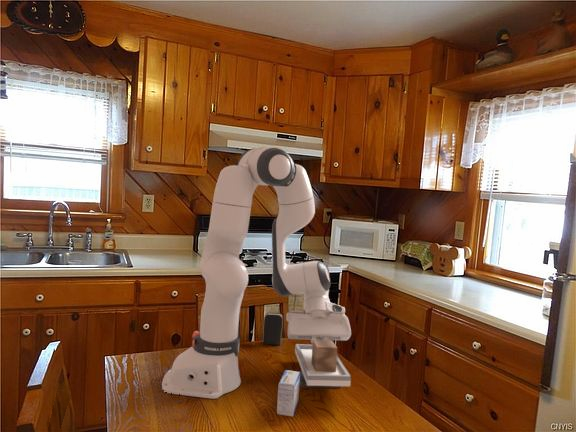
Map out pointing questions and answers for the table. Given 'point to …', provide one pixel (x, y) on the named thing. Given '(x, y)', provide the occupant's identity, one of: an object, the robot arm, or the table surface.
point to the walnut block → (324, 356)
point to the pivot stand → (303, 384)
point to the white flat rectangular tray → (320, 378)
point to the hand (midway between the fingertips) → (320, 352)
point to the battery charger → (272, 328)
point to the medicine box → (288, 393)
